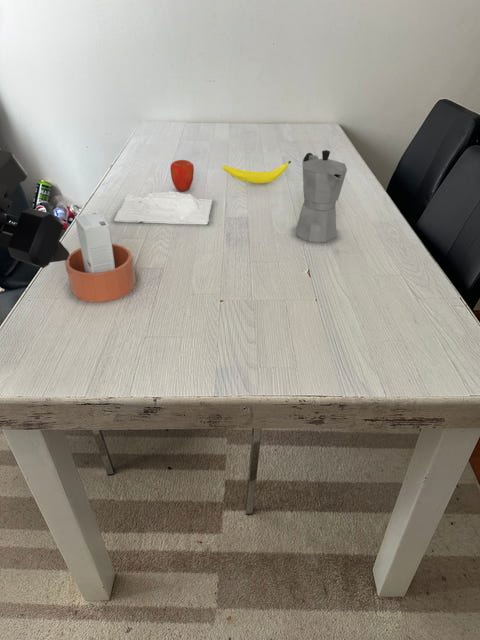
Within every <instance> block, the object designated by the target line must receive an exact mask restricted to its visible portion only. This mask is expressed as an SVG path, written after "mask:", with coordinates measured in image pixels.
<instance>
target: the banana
mask: <svg viewBox="0 0 480 640" xmlns="http://www.w3.org/2000/svg"><path fill="white" fill-rule="evenodd" d="M291 163H292V161H291V160H288V162H286V163H284V164H282V165H280V166H278V167H277V168H275V169H273V170H270V171H251V170H244V169H240V168H235V167H232V166H227V165H221V166H220V167H221V168H222V169H223V170H224V171H225V172H226V173H227V174H228V175H229V176H231V177H233V178H234V179H236V180H239V181H242V182H246V183H251V184H258V185H260V184H261V185H262V184H268V183H271V182H274V181H275V180H277V179H279V177H281V176H282V175H283V174H284V173H285V171H286V170H287V168H288V166H289V165H290V164H291Z"/></svg>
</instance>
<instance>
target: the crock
mask: <svg viewBox="0 0 480 640" xmlns="http://www.w3.org/2000/svg"><path fill="white" fill-rule="evenodd" d="M112 249H113V256H114V263H115V269H113V270H109V271H106V272H99V273H85V267H84V262H83V257H82V252H81V247H80V248H77V249H75V250H74V251H72V252H71V253H69V257H68V259H67V260H65V261H64V265H65V269H66V273H67V277H68V281H69V285H70V289H71V293H72V294H73V295H74V297H75V298H77V299H78V300H81V301H85V302H89V303H104V302H105V303H106V302H110V301H114V300H118V299H121V298H123V297H125V296H127V295H128V294H130V293H131V292H132V291H133V290H134V288H135V286H136V282H137V281H136V279H137V277H136V272H135V264H134V258H133V257H134V256H133V254H132V252H131V250H130V249H129V248H128V247H126V246H123V245H120V244H117V243H112Z"/></svg>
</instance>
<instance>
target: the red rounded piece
mask: <svg viewBox="0 0 480 640" xmlns="http://www.w3.org/2000/svg"><path fill="white" fill-rule="evenodd" d="M169 169H170V177H171V181H172V184H173V186H174V188H175V189H176V191H178V192H185V191H188V190H189V189H190V188H191V186H192V184H193V181H194V174H195V167H194V163H192V162H191V161H190V160H185V159H177V160H174V161H173V162H171V164H170V168H169Z"/></svg>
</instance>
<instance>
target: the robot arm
mask: <svg viewBox="0 0 480 640" xmlns="http://www.w3.org/2000/svg"><path fill="white" fill-rule="evenodd" d="M27 178H28V173H27V171H26V170H25V169H24V167H23V166H22V164H21V163H20V162H19V161H18V159H17V158H16V157H15V155H14V154H13V152H11V151H9V150H8V151H7V150H2V149H0V246H7V250H8V252H9V256H10V257H11V258H12V259H15V260H17V261H20V262H23V263H25V264H29V265H32V266H35V267H38V268H41V269H45V268H46V267H48V266H49V265H50V264H51V263H58V262H63V261H64V262H65V260H67V259H68V257H69V254H70V251H69V250H68V249H67V248H66V247H65V246H64V244H63V243H62V241H60V237H61V235H62V232H63V230H64V227H65V223H64V220H63V219H61V218H60V217H58V216H56V215H55V214H53V213H51V212H48V211H43V210H40V209H35V208H31V207H30V208H27V209H25V210H22V211H21V212H20V215H19V216H16V215H12V214H8V213H7V212H10V210H11V207H12V205H13V201H12V200H9V199H8V197H9V196H10V195H11V194H12V193H13V192H14V191H15V190H16V189H17V187H18V186H19V185H20V184H21V183H22V182H25V181H26V179H27Z"/></svg>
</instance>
